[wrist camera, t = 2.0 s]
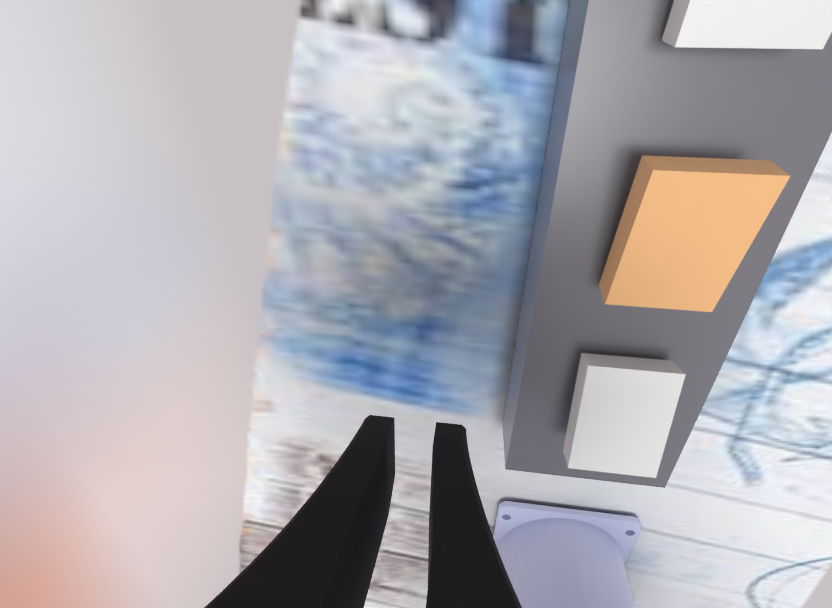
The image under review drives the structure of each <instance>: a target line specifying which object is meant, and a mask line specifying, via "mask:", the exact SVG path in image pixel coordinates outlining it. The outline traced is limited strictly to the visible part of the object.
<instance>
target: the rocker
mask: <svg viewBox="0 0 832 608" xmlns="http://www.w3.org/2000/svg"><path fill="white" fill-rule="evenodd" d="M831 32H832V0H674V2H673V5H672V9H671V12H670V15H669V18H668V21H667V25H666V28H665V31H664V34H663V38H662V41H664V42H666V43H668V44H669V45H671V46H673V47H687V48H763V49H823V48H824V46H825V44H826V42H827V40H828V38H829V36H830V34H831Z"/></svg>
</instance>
